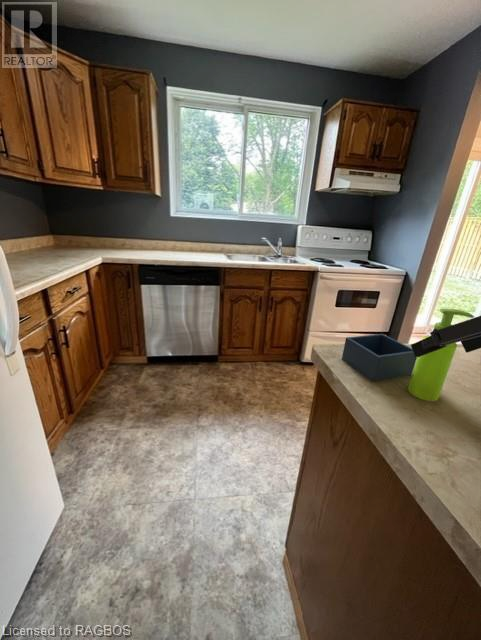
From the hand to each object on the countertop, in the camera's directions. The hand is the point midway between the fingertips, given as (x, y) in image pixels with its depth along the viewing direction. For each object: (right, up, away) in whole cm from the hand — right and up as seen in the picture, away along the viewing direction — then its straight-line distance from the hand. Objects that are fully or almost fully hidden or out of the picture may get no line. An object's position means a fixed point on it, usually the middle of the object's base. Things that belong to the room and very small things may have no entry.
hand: (440, 348), depth 58 cm
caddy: (-6, -6, +15) cm, 17 cm away
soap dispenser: (0, -11, +4) cm, 12 cm away
